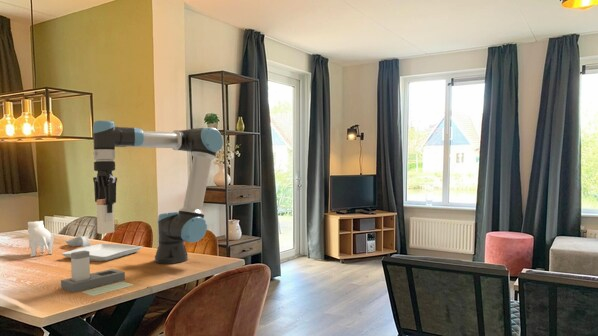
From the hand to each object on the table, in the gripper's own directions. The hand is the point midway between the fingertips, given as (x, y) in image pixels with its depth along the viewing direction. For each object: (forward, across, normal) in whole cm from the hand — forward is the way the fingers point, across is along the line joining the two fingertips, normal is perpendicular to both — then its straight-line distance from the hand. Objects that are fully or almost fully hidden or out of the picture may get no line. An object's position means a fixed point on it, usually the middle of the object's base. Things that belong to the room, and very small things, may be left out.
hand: (105, 220), depth 166 cm
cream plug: (+5, 0, 0) cm, 5 cm away
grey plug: (+23, 0, -10) cm, 25 cm away
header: (+24, 0, -5) cm, 25 cm away
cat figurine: (+25, -80, +9) cm, 84 cm away
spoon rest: (+25, -82, +31) cm, 91 cm away
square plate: (+25, -50, +26) cm, 61 cm away
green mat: (+24, +10, -5) cm, 27 cm away
